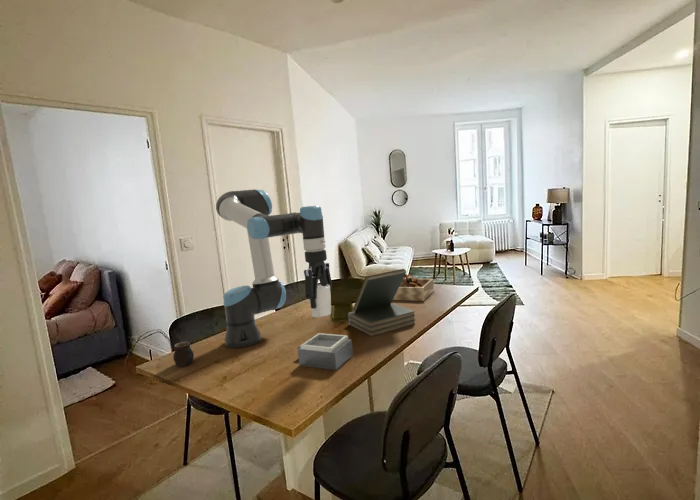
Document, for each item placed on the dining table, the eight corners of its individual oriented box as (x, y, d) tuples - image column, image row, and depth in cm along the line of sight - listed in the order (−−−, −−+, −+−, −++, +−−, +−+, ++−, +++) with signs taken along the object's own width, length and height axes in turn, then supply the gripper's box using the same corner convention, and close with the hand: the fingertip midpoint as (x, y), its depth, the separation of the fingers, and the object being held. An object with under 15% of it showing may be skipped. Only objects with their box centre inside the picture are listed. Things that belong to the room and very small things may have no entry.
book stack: (390, 314, 190) (386, 263, 187) (415, 324, 173) (411, 268, 170) (349, 325, 180) (344, 271, 177) (371, 337, 163) (366, 278, 159)
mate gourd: (179, 360, 155) (176, 336, 154) (198, 359, 155) (195, 335, 154) (170, 368, 148) (167, 343, 147) (190, 367, 148) (187, 341, 146)
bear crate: (386, 299, 217) (385, 287, 216) (399, 289, 236) (398, 278, 235) (423, 300, 208) (423, 287, 207) (433, 290, 226) (433, 278, 225)
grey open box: (290, 364, 142) (287, 344, 141) (309, 350, 154) (307, 331, 153) (336, 370, 134) (334, 349, 133) (353, 355, 145) (351, 335, 144)
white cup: (329, 317, 136) (326, 288, 135) (308, 317, 138) (304, 290, 137) (335, 310, 144) (332, 283, 143) (314, 311, 146) (311, 284, 144)
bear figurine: (406, 299, 214) (404, 277, 212) (399, 293, 229) (398, 272, 227) (430, 296, 215) (429, 275, 214) (422, 290, 230) (421, 270, 229)
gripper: (308, 254, 127) (316, 322, 130) (338, 245, 145) (344, 305, 148) (289, 255, 131) (297, 321, 134) (320, 246, 149) (326, 304, 152)
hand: (321, 313), depth 141 cm, fingers closed on white cup, 7 cm apart
